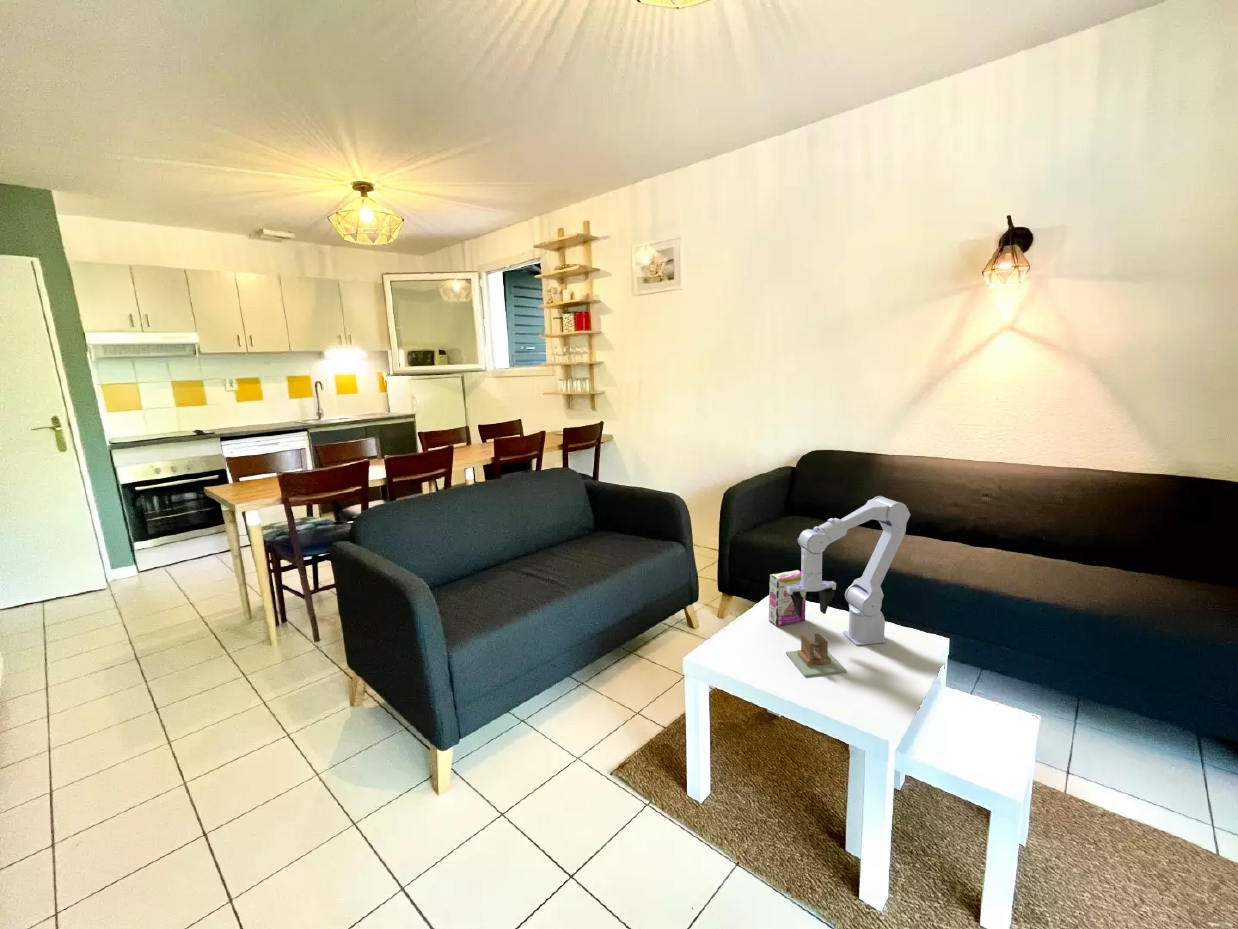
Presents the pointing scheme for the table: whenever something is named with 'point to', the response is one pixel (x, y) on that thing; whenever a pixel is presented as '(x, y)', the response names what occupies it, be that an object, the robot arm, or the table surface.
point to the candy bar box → (784, 599)
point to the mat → (818, 669)
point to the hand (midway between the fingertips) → (810, 613)
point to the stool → (814, 651)
